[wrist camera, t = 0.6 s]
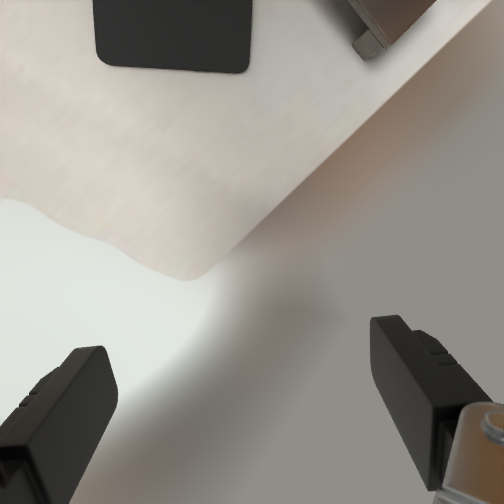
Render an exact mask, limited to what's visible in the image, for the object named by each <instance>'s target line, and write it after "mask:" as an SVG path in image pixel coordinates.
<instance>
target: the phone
mask: <svg viewBox="0 0 504 504" xmlns="http://www.w3.org/2000/svg"><path fill="white" fill-rule="evenodd" d="M93 15H94V29H95V43H96V52H97V55H98V57H99V59H100V60H101V61H103V62H104V63H106V64H109V65H116V66H131V67H147V68H163V69H179V70H193V71H207V72H210V71H211V72H226V73H240V72H243V71H244V70H246V68H247V67H248V64H249V57H250V39H251V19H252V0H93Z"/></svg>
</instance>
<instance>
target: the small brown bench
mask: <svg viewBox="0 0 504 504" xmlns="http://www.w3.org/2000/svg"><path fill="white" fill-rule="evenodd" d="M347 1H348V2H349V3H350V5H351V6H352V7H353V8H354V10H355V11H356V12H357V14H358V15H359V16H360V17H361V19H362V20H363V21H364V23H365V24H366V25H367V26H368V29H367V30H366V31H365V32H364V33H363V34H362V35H361V36H360V37H359V38H358V39H357V40H356V41H355V42H354V43H353V44H352V46H353V48H354V49H355V50H356V51H357V53H358V54H359V55H360V56H361V58H362V59H363V60H364V61H365V60H367V59H368V58H370V57H371V56H373V55H374V54H375V53H377V52H378V51H380V50H381V49H383V48H385V49H387V48H388V47H390V46H391V45H392V44H393V43H394V42H395V41H396V40H397V39H398V38H399V37H400V36H401V35H402V34H403V33H404V32H405V31H406V30H407V29H408V28H409V27H410V26H411V25H412V24H413V23H414V22H415V21H416V20H417V19H418V18H419V17H420V16H421V15H422V14H423V13H424V12H425V11H426V10H427V9H428V8H429V7H430V6H431V5H432V4H433V3H434V2H435V1H436V0H347Z"/></svg>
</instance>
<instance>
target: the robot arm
mask: <svg viewBox="0 0 504 504" xmlns="http://www.w3.org/2000/svg"><path fill="white" fill-rule="evenodd" d="M370 362H371V371H372V375H373V379H374V382H375V384H376V387H377V388H378V390H379V393H380V395H381V397H382V399H383V401H384V403H385V405H386V407H387V409H388V411H389V413H390V415H391V417H392V419H393V421H394V423H395V425H396V427H397V429H398V431H399V433H400V435H401V437H402V439H403V441H404V443H405V445H406V447H407V449H408V451H409V453H410V455H411V457H412V459H413V461H414V463H415V465H416V468H417V469H418V471H419V474H420V476H421V478H422V480H423V482H424V484H425V486H426V488H427V490H428V491H436V494H435V497H434V501H433V504H504V404H500V403H494V402H493V401H492V400H491V399H490V398H489V397H488V395H487V394H486V393H485V392H484V391H483V390H482V389H481V388H480V387H479V385H478V384H477V383H476V382H475V381H474V380H473V379H472V378H471V377H470V375H469V374H468V373H467V372H466V371H465V370H464V369H463V368H462V367H461V365H460V364H457V361H456V360H455V359H454V358H453V357H452V355H451V354H448V351H447V350H446V349H445V348H444V347H443V346H442V344H441V343H440V342H439V341H438V340H437V339H436V338H434V337H432V336H430V335H428V334H427V333H425V332H423V331H421V330H415V331H412V330H411V329H410V328H409V327H408V326H407V324H406V323H405V322H404V321H403V320H402V318H401V317H400V316H399V315H391V316H381V317H372V318H371V320H370ZM117 402H118V388H117V385H116V381H115V378H114V375H113V371H112V368H111V364H110V361H109V358H108V354H107V351H106V349H105V348H104V347H103V346H92V347H82V348H76V349H74V350H73V351H72V352H71V353H70V355H69V356H68V357H67V358H66V359H65V361H64V362H63V363H62V364H61V365H60V367H57V368H55V369H54V370H53V371H51V372H50V373H49V374H47V375H46V376H45V377H43V378H42V379H41V380H40V381H39V382H38V383H37V384H36V385H35V387H34V388H33V389H32V390H31V391H30V393H29V396H26V397H25V398H24V399H23V401H22V402H21V403H20V404H19V407H18V408H16V409H15V410H14V411H13V412H12V413H11V414H10V416H9V417H8V418H7V419H6V420H5V421H4V423H3V424H2V425H1V426H0V504H69V502H70V500H71V498H72V496H73V494H74V492H75V490H76V488H77V486H78V484H79V481H80V480H81V478H82V476H83V474H84V472H85V470H86V468H87V466H88V464H89V462H90V460H91V458H92V455H93V454H94V452H95V450H96V448H97V445H98V444H99V441H100V440H101V437H102V435H103V433H104V431H105V429H106V427H107V425H108V423H109V421H110V419H111V417H112V415H113V413H114V411H115V409H116V406H117Z"/></svg>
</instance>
